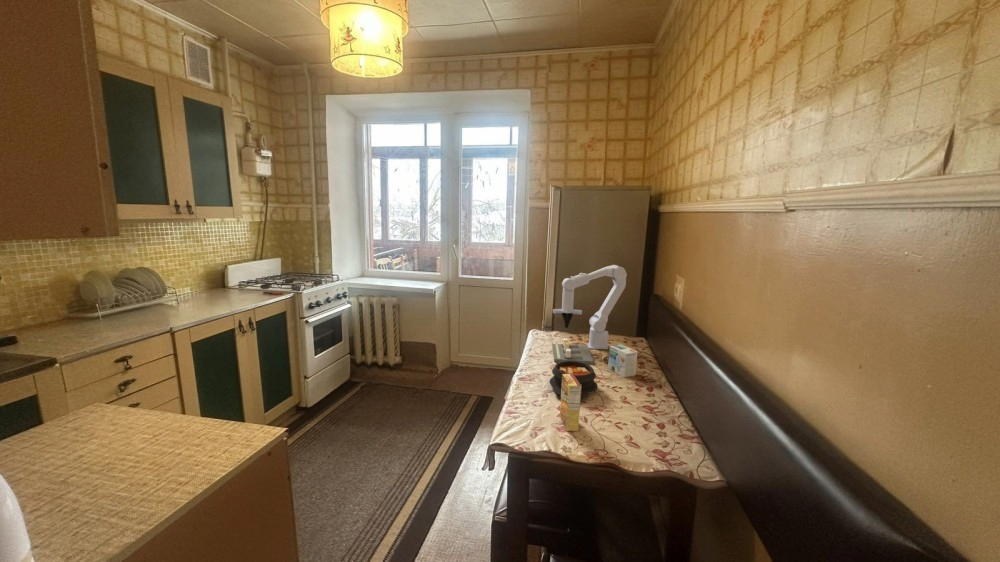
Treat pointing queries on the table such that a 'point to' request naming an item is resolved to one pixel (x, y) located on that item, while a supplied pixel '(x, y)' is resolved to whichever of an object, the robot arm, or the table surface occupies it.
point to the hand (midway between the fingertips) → (566, 327)
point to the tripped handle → (566, 346)
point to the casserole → (581, 373)
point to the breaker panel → (572, 353)
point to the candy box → (570, 402)
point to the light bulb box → (622, 360)
